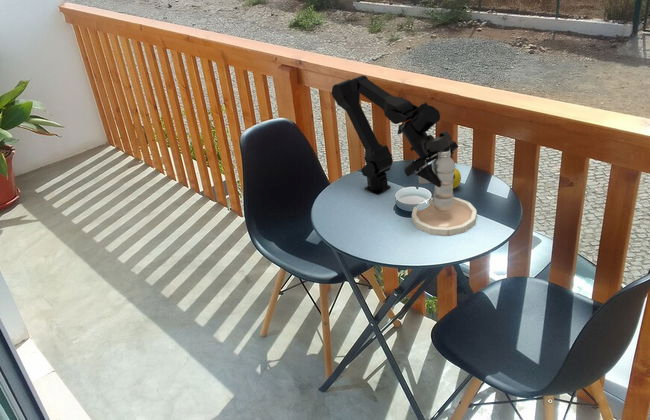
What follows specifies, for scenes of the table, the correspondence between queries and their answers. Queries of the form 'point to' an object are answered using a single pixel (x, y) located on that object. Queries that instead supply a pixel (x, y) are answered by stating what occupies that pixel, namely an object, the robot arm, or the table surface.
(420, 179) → the lighter
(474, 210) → the round tray
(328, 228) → the table surface
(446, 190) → the plastic bottle
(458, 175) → the lemon
